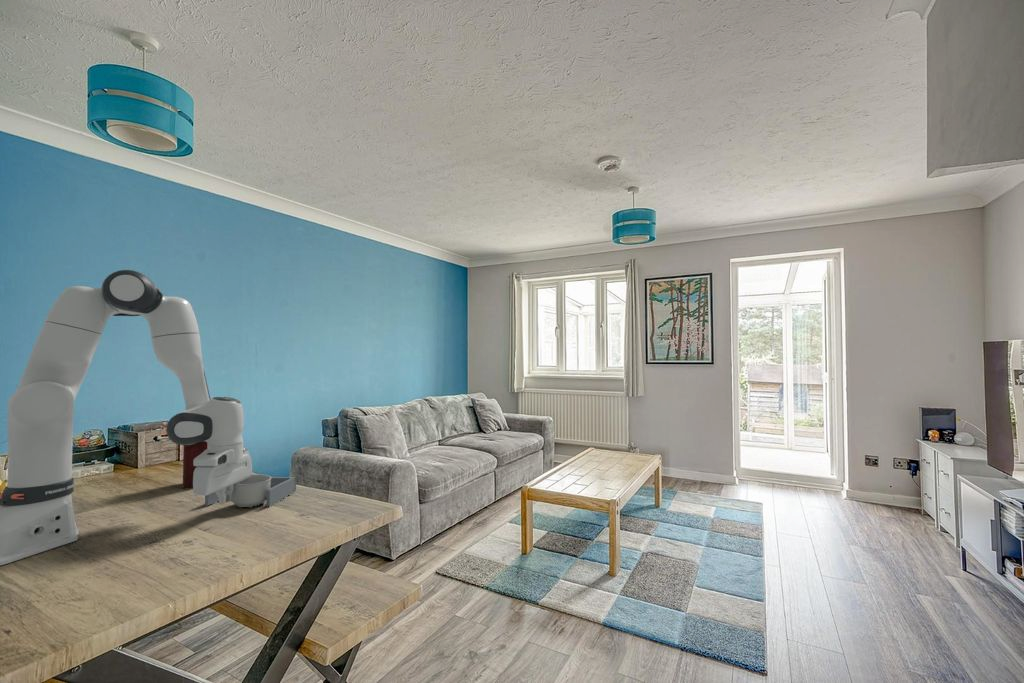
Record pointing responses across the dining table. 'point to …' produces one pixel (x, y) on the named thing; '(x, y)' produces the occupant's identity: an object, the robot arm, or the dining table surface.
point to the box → (277, 490)
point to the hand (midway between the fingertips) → (224, 502)
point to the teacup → (251, 491)
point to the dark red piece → (191, 461)
